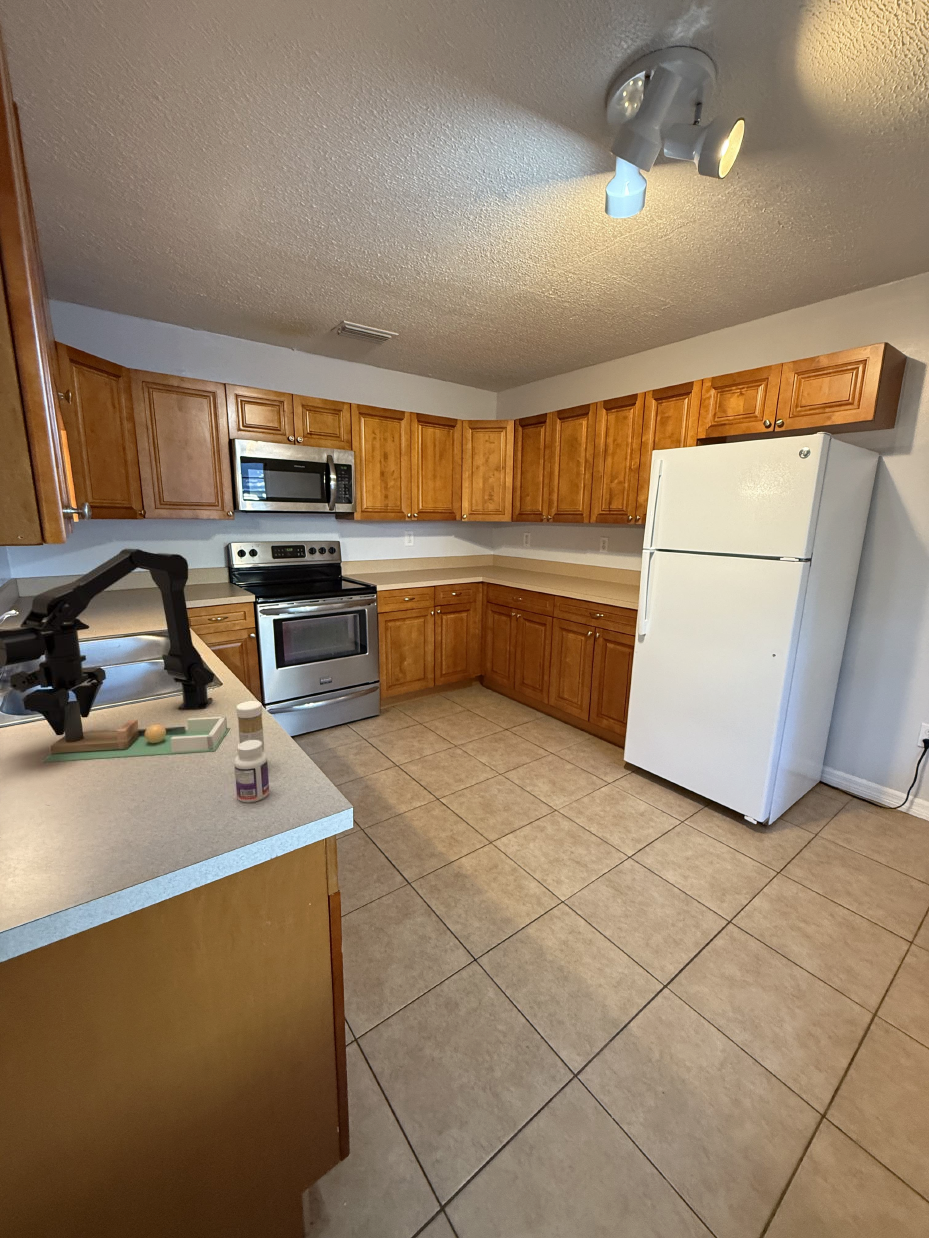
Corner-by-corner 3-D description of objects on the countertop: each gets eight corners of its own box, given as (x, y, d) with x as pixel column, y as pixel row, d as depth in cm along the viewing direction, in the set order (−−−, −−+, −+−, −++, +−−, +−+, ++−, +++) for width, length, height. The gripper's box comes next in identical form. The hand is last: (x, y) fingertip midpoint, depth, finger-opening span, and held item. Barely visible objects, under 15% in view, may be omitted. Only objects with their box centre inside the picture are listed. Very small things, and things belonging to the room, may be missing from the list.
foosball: (150, 739, 110) (148, 722, 109) (169, 737, 111) (168, 720, 110) (142, 747, 106) (140, 729, 105) (162, 745, 107) (160, 728, 106)
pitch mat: (76, 736, 111) (75, 736, 111) (230, 728, 117) (229, 727, 117) (42, 762, 99) (42, 761, 99) (215, 751, 105) (215, 750, 105)
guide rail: (69, 739, 109) (68, 732, 109) (185, 732, 114) (185, 726, 113) (67, 740, 108) (66, 734, 108) (184, 734, 113) (184, 727, 113)
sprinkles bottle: (261, 761, 102) (257, 698, 99) (269, 769, 98) (265, 705, 96) (237, 767, 99) (233, 703, 96) (244, 776, 95) (240, 710, 93)
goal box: (189, 730, 115) (188, 718, 114) (227, 728, 116) (226, 716, 116) (171, 752, 104) (170, 738, 104) (213, 749, 106) (212, 736, 105)
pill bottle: (259, 783, 93) (256, 735, 91) (275, 794, 90) (272, 743, 88) (231, 795, 89) (227, 745, 87) (246, 807, 86) (242, 754, 84)
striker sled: (67, 740, 108) (61, 699, 106) (139, 736, 111) (134, 695, 109) (51, 753, 102) (44, 709, 100) (126, 748, 105) (121, 705, 103)
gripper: (45, 643, 109) (55, 711, 112) (-18, 668, 91) (-4, 748, 94) (102, 642, 111) (111, 708, 114) (52, 666, 93) (63, 744, 96)
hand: (73, 725), depth 105 cm, fingers open, 9 cm apart
